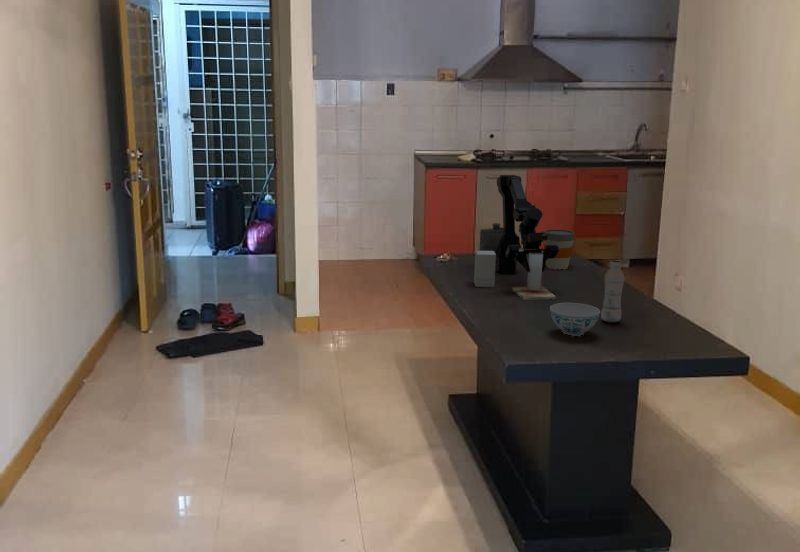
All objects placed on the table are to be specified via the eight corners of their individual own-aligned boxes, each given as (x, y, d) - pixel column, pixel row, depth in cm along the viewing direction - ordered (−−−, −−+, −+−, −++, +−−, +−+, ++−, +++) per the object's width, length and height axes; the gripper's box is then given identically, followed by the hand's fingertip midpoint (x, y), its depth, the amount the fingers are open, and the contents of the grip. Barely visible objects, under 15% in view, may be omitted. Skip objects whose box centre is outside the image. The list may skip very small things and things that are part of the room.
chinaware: (562, 323, 252) (564, 299, 250) (606, 332, 243) (608, 308, 241) (539, 333, 241) (541, 309, 239) (584, 344, 232) (586, 319, 230)
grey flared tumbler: (524, 288, 285) (526, 253, 282) (531, 285, 289) (533, 251, 285) (536, 290, 282) (538, 255, 279) (543, 288, 285) (545, 253, 282)
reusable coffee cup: (540, 269, 325) (542, 233, 322) (543, 262, 337) (546, 228, 333) (571, 271, 322) (573, 235, 318) (573, 265, 333) (576, 230, 330)
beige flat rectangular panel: (511, 289, 292) (512, 286, 292) (542, 288, 294) (543, 286, 293) (523, 300, 278) (523, 297, 277) (556, 299, 279) (556, 296, 279)
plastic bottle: (598, 322, 253) (603, 262, 248) (603, 317, 259) (608, 258, 254) (618, 325, 250) (623, 264, 245) (622, 320, 256) (628, 260, 251)
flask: (477, 265, 329) (478, 223, 325) (508, 264, 333) (510, 222, 329) (480, 267, 326) (482, 224, 322) (512, 266, 330) (514, 223, 325)
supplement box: (494, 287, 295) (496, 254, 292) (475, 287, 295) (476, 254, 292) (492, 282, 302) (494, 250, 299) (473, 282, 302) (475, 250, 299)
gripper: (509, 223, 282) (516, 260, 274) (559, 223, 285) (567, 259, 277) (502, 240, 291) (509, 276, 284) (550, 239, 294) (558, 275, 286)
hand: (536, 271), depth 282 cm, fingers closed on grey flared tumbler, 5 cm apart
